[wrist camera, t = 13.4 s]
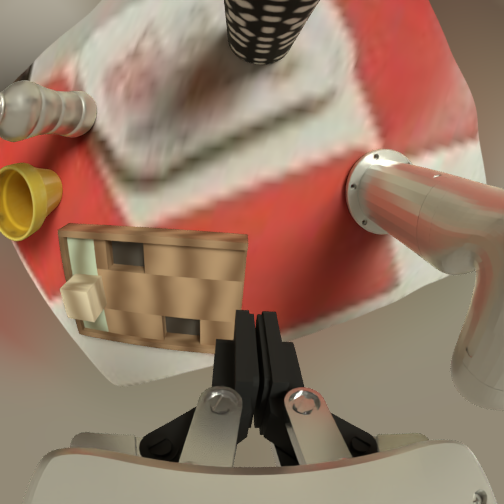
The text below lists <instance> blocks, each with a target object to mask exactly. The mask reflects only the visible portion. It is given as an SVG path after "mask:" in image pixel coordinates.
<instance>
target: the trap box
mask: <svg viewBox="0 0 504 504" xmlns="http://www.w3.org/2000/svg"><path fill="white" fill-rule="evenodd" d="M58 237H59V244H60V251H61V257H62V263H63V268H64V273H65V278H66V282H67V281H68V280H69V279H70V278H71V277H72V276H73V275H74V274H86V275H97V276H102V282H103V287H104V292H105V297H106V301H107V305H106V306H105V308H104V309H103V311H102V312H101V314H100V315H99V316H98V318H97V319H96V321H95V322H90V321H84V320H78V319H75V320H76V324H77V327H78V330H79V334H82V335H86V336H91V337H96V338H101V339H106V340H112V341H117V342H123V343H129V344H135V345H141V346H148V347H155V348H163V349H171V350H180V351H189V352H200V353H211V354H215V345H216V339H225V340H233V338H234V326H235V314H236V310H241V308H242V297H243V287H244V277H245V266H246V256H247V251H248V235H247V234H234V233H220V232H206V231H192V230H178V229H162V228H146V227H130V226H112V225H93V224H73V223H69V224H67V225H65V226H64V227H62V228H61V229H59V230H58Z"/></svg>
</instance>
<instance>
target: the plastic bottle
mask: <svg viewBox="0 0 504 504" xmlns="http://www.w3.org/2000/svg"><path fill="white" fill-rule="evenodd" d="M96 115H97V106H96V103H95V101H94V99H93V98H92V97H91V96H90V95H88V94H87V93H85V92H83V91H70V92H63V91H55V90H51V89H47V88H45V87H43V86H40V85H38V84H36V83H33V82H30V81H26V80H23V81H19V82H15V83H13V84H11V85H10V86H9V87H7V88H6V89H5V90H4V91H3V92H0V137H1V138H3V139H4V140H7V141H10V142H17V141H21V140H24V139H27V138H30V137H34V136H37V135H44V134H57V135H61V136H64V137H69V138H74V137H78V136H81V135H83V134H85V133H86V132H88V131H89V130H90V129H91V127H92V126H93V124H94V122H95V119H96Z"/></svg>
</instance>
